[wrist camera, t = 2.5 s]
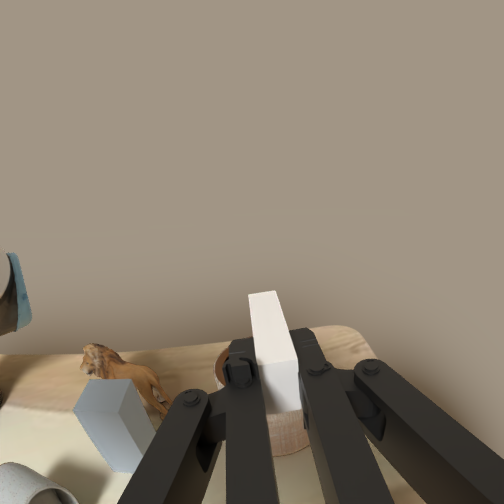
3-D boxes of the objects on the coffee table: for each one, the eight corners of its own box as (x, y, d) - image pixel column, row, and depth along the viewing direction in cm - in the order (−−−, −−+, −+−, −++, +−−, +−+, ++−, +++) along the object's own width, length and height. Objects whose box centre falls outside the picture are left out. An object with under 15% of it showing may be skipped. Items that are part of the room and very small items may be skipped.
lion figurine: (93, 404, 37) (68, 353, 35) (111, 383, 42) (91, 334, 39) (180, 425, 33) (158, 369, 31) (196, 397, 38) (179, 342, 36)
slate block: (154, 474, 26) (118, 412, 23) (113, 471, 26) (72, 410, 23) (161, 442, 30) (131, 378, 28) (123, 441, 30) (89, 379, 28)
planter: (343, 415, 32) (345, 350, 29) (277, 476, 25) (267, 416, 22) (275, 382, 39) (267, 321, 37) (210, 426, 33) (191, 365, 30)
